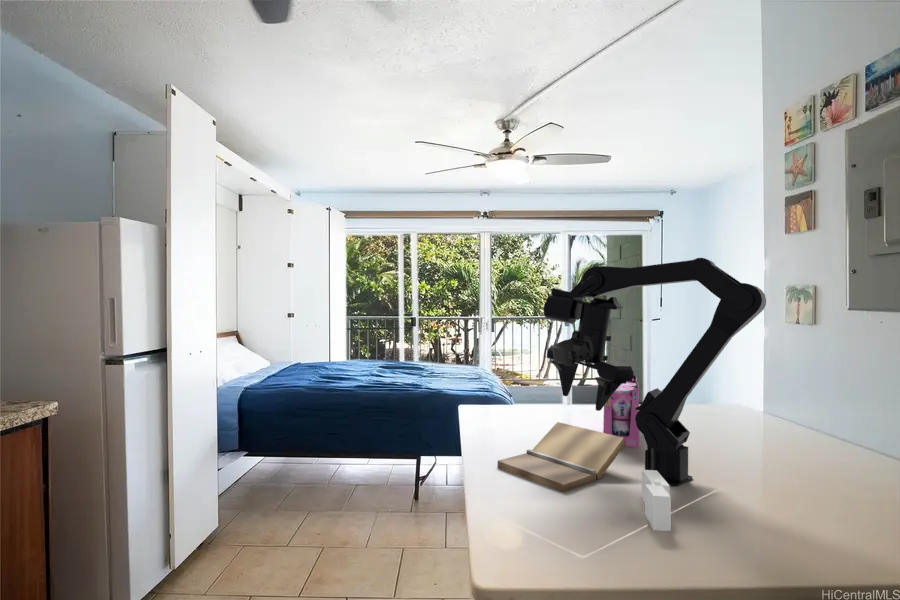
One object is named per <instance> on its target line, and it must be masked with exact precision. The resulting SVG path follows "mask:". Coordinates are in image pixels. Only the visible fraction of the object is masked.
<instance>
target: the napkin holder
mask: <svg viewBox="0 0 900 600" xmlns="http://www.w3.org/2000/svg"><path fill="white" fill-rule="evenodd" d="M670 486H671V485H669V484H668V483H667V482H666V481H665V480H664V478H663V477H662V476H661V475H660V474H659V472H658V471H657V470H645V469H641V499H642V500H643V502H644V505H645V506H644V512H645V513H644V516H645V517H646V519H647V521H648V522H649V525H650V527H651V529H652V530H653V531H662V532H663V531H664V532H671V529H672V528H671V527H672V523H671V519H672V513H671V512H672V509H671V507H672V506H671V505H672V504H671V502H672V497H671V495H670V493H671V492H670V490H671V489H670Z"/></svg>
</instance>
